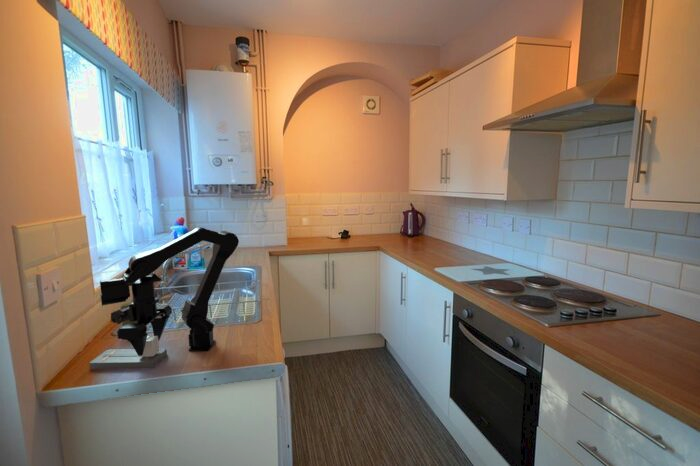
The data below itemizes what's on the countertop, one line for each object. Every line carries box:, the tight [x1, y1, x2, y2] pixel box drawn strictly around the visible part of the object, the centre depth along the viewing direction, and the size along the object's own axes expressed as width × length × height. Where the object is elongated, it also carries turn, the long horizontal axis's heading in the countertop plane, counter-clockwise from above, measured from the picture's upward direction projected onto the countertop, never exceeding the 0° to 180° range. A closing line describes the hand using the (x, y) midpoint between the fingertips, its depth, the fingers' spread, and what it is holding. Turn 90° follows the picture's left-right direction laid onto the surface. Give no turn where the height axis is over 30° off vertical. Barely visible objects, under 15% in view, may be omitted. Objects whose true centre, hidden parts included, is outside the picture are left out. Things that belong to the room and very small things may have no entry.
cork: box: [119, 301, 138, 327], centre depth 124 cm, size 6×6×11 cm
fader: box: [139, 335, 160, 357], centre depth 104 cm, size 4×4×5 cm
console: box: [88, 348, 168, 370], centre depth 104 cm, size 18×8×2 cm, turn 91°
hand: (149, 347), depth 104 cm, fingers open, 9 cm apart
